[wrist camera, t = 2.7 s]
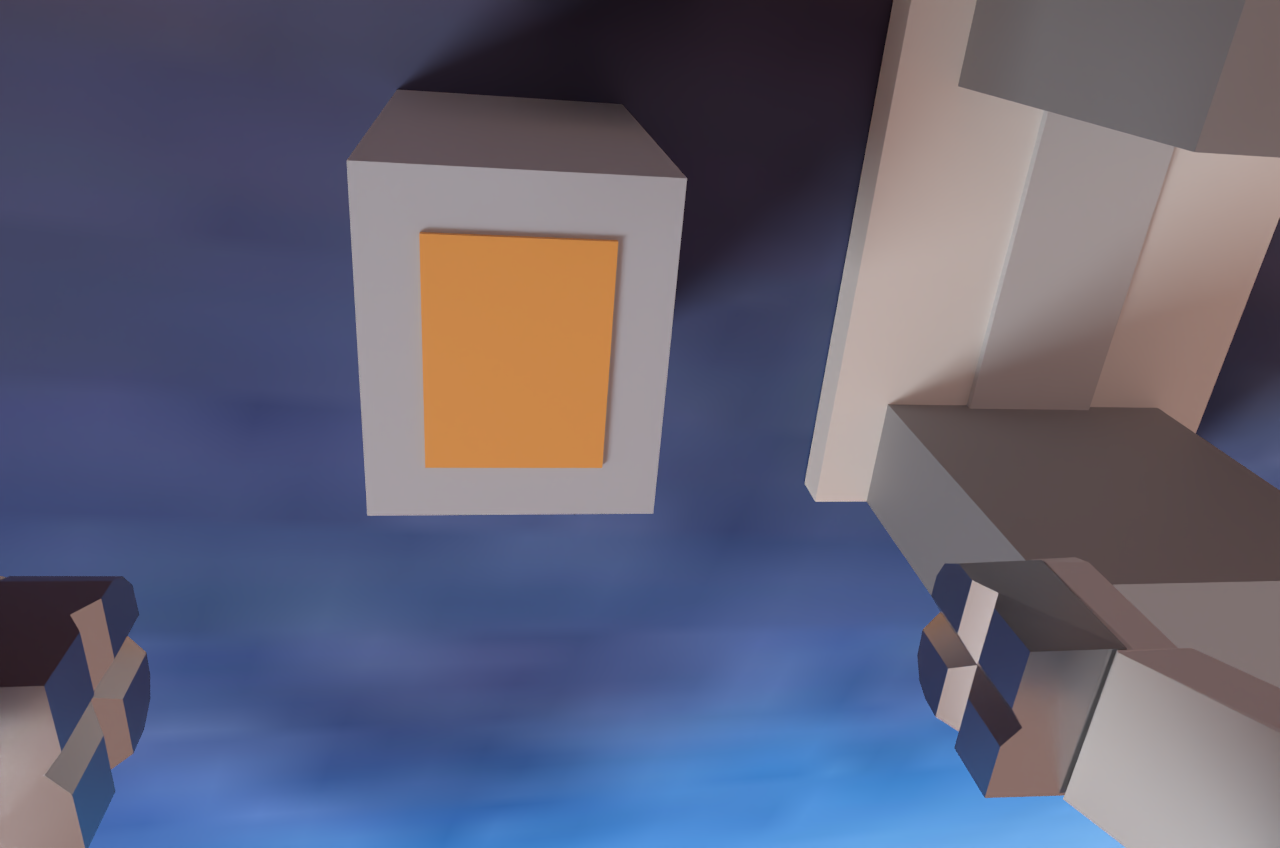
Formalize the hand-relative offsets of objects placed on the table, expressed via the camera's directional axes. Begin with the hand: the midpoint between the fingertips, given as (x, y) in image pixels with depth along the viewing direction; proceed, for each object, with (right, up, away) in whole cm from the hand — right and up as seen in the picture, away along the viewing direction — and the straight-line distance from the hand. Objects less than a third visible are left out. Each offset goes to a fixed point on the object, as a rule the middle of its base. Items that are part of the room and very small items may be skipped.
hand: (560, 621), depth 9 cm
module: (-2, +7, +13) cm, 14 cm away
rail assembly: (+12, +7, +15) cm, 20 cm away
